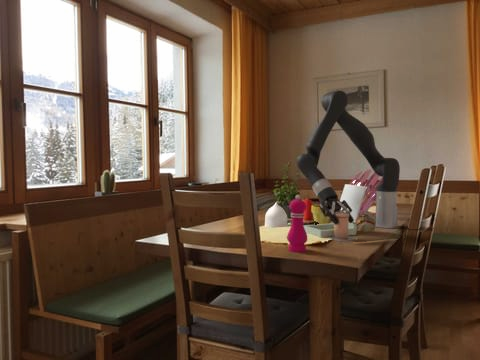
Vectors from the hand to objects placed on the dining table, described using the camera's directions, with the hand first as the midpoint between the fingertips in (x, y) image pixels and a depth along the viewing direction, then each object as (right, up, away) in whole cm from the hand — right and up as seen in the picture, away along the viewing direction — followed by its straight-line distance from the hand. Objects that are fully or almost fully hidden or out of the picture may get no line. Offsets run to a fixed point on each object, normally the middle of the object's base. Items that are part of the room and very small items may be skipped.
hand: (344, 222), depth 170 cm
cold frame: (-1, -7, +14) cm, 16 cm away
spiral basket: (+30, -4, +71) cm, 77 cm away
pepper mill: (-21, -8, -16) cm, 28 cm away
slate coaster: (-1, -7, +2) cm, 7 cm away
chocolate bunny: (+15, -6, +20) cm, 26 cm away
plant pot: (-2, -5, +37) cm, 37 cm away
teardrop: (-25, -5, +36) cm, 44 cm away
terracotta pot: (-1, -6, +2) cm, 7 cm away
